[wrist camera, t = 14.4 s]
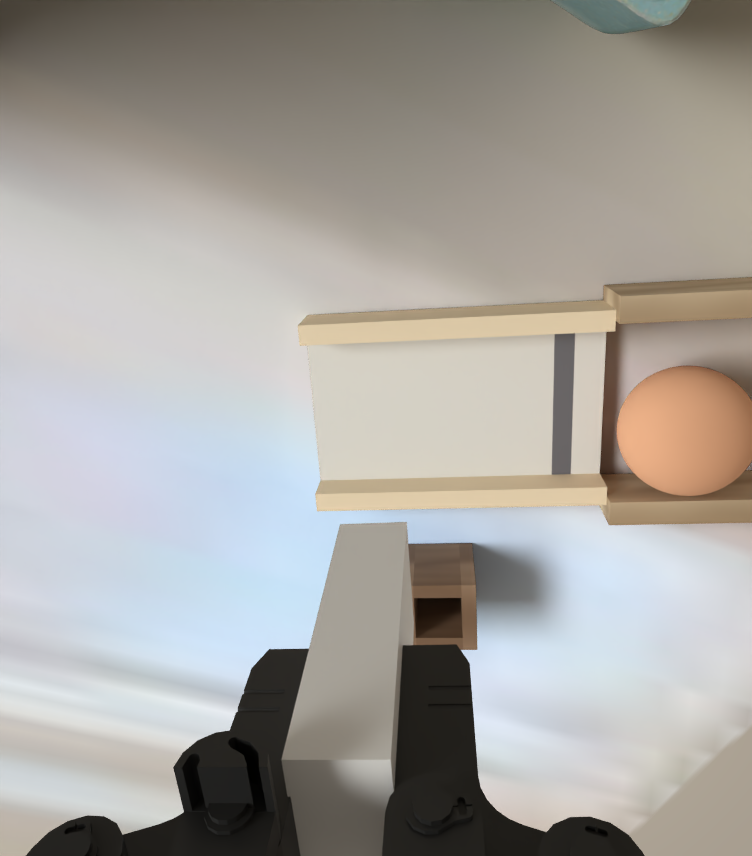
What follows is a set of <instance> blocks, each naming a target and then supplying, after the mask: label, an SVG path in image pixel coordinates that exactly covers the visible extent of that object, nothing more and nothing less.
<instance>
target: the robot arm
mask: <svg viewBox="0 0 752 856" xmlns="http://www.w3.org/2000/svg"><path fill="white" fill-rule="evenodd" d="M413 637H414V617H413V603H412V589H411V576H410V562H409V548H408V535H407V522H394V523H366V524H340V527H339V531H338V535H337V539H336V543H335V547H334V551H333V555H332V559H331V563H330V567H329V571H328V575H327V579H326V583H325V587H324V591H323V595H322V599H321V603H320V607H319V611H318V615H317V619H316V623H315V627H314V631H313V635H312V639H311V643H310V647H309V649H269V650H268V651H267V652H266V653H265V655H264V656H263V657H262V658H261V659H260V660H259V661H258V662H257V663H256V664H255V665H254V667H253V668H252V669H251V672H250V675H249V678H248V681H247V683H246V686H245V689H244V694H243V695H242V698H241V700H240V703H239V706H238V712H236V715H235V717H234V720H233V723H232V726H231V729H230V731H224V732H218V733H214V734H212V735H209V736H207V737H205V738H203V739H200V740H198V741H197V742H195V743H194V744H193V745H192V746H191V747H189V748H188V749H187V750H186V751H184V752H183V753H182V755H181V757H180V758H179V760H178V761H177V763H176V764H175V766H174V767H173V768H174V772H175V776H176V780H177V784H178V789H179V793H180V797H181V801H182V805H183V809H184V813H182V814H181V815H179V816H177V817H176V818H174V819H172V820H169V821H166V822H164V823H161V824H159V825H155V826H152V827H148V828H145V829H141V830H138V831H134V832H131V833H128V834H124V835H122V833H121V831H120V829H119V827H118V825H117V823H115V822H113V821H111V820H110V819H108V818H106V817H104V816H84V817H81V818H77V819H74V820H70V821H67V822H66V823H64V824H62V825H60V826H59V827H57V828H55V829H54V830H52V831H50V832H49V833H48V834H47V835H45V836H44V837H43V838H42V839H41V840H40V841H39V842H38V843H37V844H36V845H35V846H34V847H33V848H32V849H31V850H30V851H29V853H28V854H27V855H26V856H644V854H643V852H642V851H641V850H640V849H639V847H638V846H637V845H636V844H635V842H634V841H633V840H632V839H631V837H630V836H629V835H628V834H626V833H625V832H623V831H622V830H620V829H619V828H617V827H616V826H614V825H613V824H611V823H609V822H606V821H602V820H599V819H596V818H592V817H570V818H567V819H565V820H563V821H560V822H558V823H556V824H553V826H552V827H551V828H550V829H549V830H548V831H547V832H544V831H540V830H537V829H534V828H531V827H528V826H524V825H522V824H519V823H517V822H515V821H513V820H510V819H508V818H507V817H505V816H504V815H503V814H501V813H500V812H498V811H497V810H496V809H495V808H494V807H493V806H492V805H491V804H490V803H489V801H488V800H487V799H486V797H485V795H484V793H483V791H482V790H481V787H480V783H479V778H478V769H477V756H476V743H475V730H474V717H473V704H472V691H471V677H470V664H469V662H468V660H467V659H466V658H465V656H464V655H463V653H462V652H461V650H460V649H459V647H458V646H457V644H448V645H413Z"/></svg>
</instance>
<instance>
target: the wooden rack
mask: <svg viewBox="0 0 752 856" xmlns="http://www.w3.org/2000/svg"><path fill="white" fill-rule="evenodd" d="M603 300H604V301H605V302H606V303H608V304H609V305H610V306H612V307H613V308H614V309H616V321H617V322H618V323H619V324H630V323H651V322H672V321H694V320H715V319H736V318H752V277H746V278H727V279H708V280H689V281H670V282H651V283H632V284H613V285H604V291H603ZM600 475H601V477H602V479H603V480H604V482H605V484H606V486H607V502H606V505H599V506H600V508H601V510H602V512H603V514H604V516H605V518H606V520H607V522H608V524H609V525H643V524H699V523H752V470H751V471H744V472H743V473H742V474H741V475H740V476H739V477H738V478H737V479H736V480H735V481H733V482H732V483H730V484H729V485H727V486H726V487H724V488H722V489H719V490H717V491H714V492H711V493H708V494H703V495H697V496H680V495H674V494H669V493H666V492H662V491H660V490H657V489H655V488H653V487H651V486H649V485H648V484H646V483H645V482H643V481H642V480H641V479H640V478H638V477H637V476H636V475H635V474H634V473H633V474H600Z"/></svg>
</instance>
